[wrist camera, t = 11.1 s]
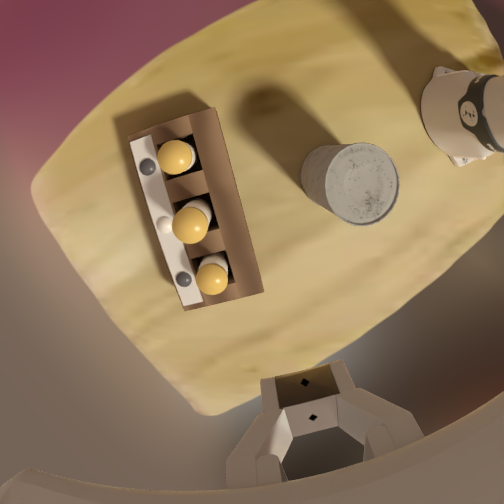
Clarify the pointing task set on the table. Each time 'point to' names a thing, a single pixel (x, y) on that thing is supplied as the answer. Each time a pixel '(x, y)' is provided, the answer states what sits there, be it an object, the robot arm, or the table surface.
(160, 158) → the button
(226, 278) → the button
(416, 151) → the table surface
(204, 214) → the middle button
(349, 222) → the grey concrete cylinder
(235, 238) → the button board
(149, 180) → the strip
